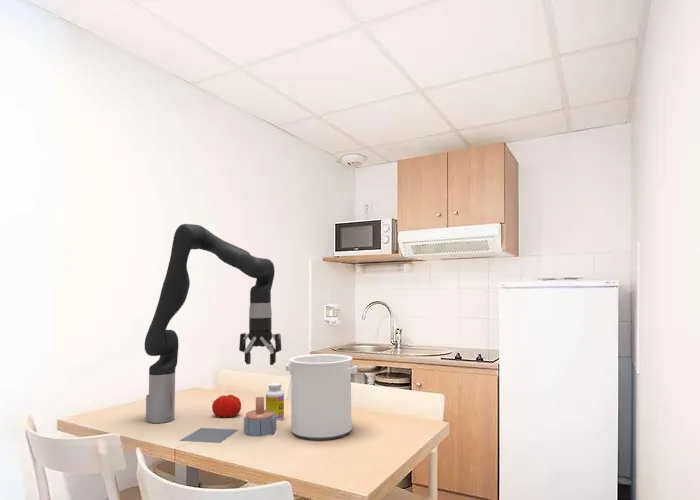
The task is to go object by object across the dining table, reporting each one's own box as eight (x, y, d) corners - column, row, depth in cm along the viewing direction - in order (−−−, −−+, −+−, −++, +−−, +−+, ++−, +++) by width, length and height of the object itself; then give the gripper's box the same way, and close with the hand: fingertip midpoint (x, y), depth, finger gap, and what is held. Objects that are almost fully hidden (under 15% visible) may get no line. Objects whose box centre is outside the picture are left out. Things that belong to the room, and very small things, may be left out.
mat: (179, 442, 153) (179, 440, 153) (201, 429, 166) (201, 427, 166) (220, 444, 150) (220, 442, 150) (239, 431, 164) (239, 429, 164)
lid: (241, 419, 158) (242, 400, 158) (252, 412, 167) (252, 394, 167) (267, 420, 156) (267, 401, 157) (277, 413, 165) (277, 395, 166)
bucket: (367, 425, 168) (366, 355, 170) (346, 445, 148) (345, 364, 150) (300, 420, 177) (300, 352, 178) (272, 437, 156) (272, 361, 158)
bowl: (240, 437, 157) (240, 420, 158) (252, 428, 167) (252, 412, 167) (269, 438, 155) (268, 421, 156) (279, 429, 165) (279, 413, 166)
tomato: (230, 421, 177) (230, 400, 177) (206, 418, 181) (206, 398, 181) (247, 413, 187) (247, 394, 187) (223, 411, 191) (223, 392, 191)
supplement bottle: (280, 422, 174) (280, 386, 175) (263, 421, 175) (263, 385, 176) (286, 417, 181) (286, 382, 182) (269, 416, 182) (269, 382, 183)
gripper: (236, 317, 162) (235, 365, 161) (276, 317, 159) (276, 366, 158) (245, 315, 169) (245, 362, 168) (283, 315, 166) (283, 363, 165)
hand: (260, 364), depth 163 cm, fingers open, 8 cm apart
